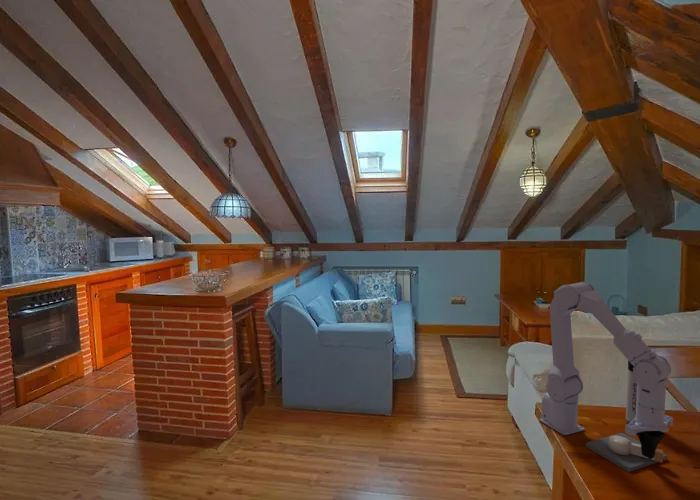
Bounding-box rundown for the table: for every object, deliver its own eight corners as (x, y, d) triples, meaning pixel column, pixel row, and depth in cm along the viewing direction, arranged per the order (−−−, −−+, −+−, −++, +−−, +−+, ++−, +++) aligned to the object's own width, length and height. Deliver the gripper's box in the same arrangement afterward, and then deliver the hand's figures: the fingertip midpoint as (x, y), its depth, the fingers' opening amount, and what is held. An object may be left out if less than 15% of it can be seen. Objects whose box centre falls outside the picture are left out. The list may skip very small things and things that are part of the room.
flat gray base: (585, 446, 111) (585, 443, 111) (621, 435, 116) (621, 432, 116) (628, 472, 100) (628, 468, 100) (666, 459, 105) (666, 455, 105)
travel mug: (642, 418, 126) (644, 355, 124) (656, 429, 119) (658, 363, 117) (620, 417, 126) (622, 355, 125) (633, 428, 120) (635, 363, 118)
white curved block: (607, 451, 107) (608, 442, 107) (609, 442, 111) (609, 433, 111) (663, 466, 100) (663, 456, 100) (662, 456, 104) (662, 447, 104)
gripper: (646, 417, 95) (644, 472, 96) (687, 406, 100) (684, 458, 101) (617, 404, 102) (615, 455, 103) (657, 394, 106) (654, 444, 108)
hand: (647, 456), depth 102 cm, fingers closed, pressing on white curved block
